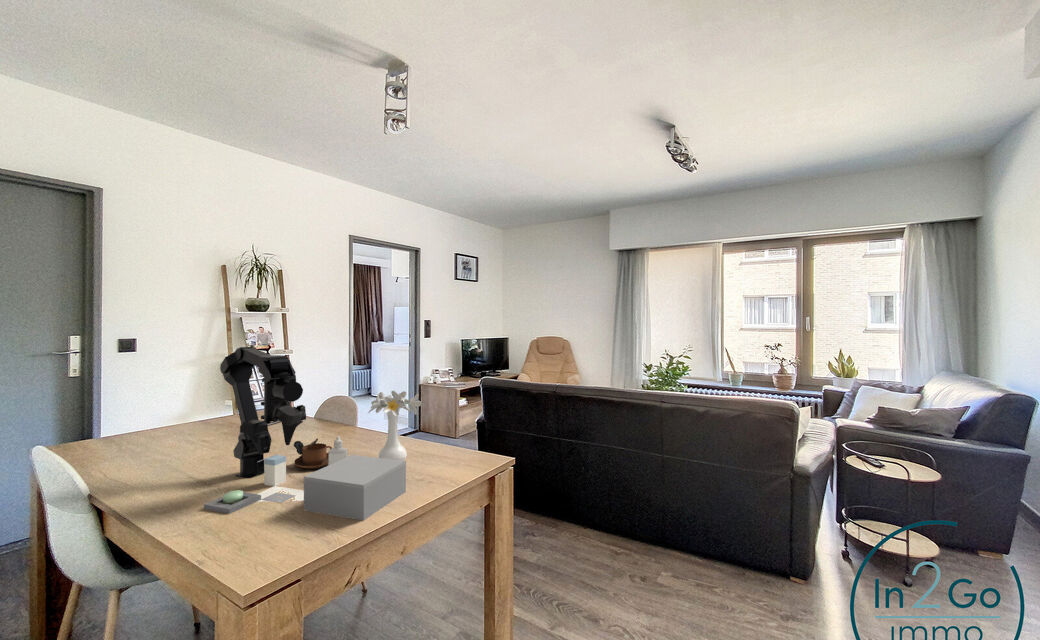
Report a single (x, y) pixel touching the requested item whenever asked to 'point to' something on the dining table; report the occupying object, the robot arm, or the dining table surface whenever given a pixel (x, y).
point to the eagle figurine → (299, 447)
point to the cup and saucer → (313, 456)
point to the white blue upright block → (274, 470)
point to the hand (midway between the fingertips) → (275, 449)
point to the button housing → (226, 508)
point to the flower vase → (394, 421)
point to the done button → (233, 496)
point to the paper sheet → (281, 494)
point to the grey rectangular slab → (354, 486)
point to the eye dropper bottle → (337, 452)
